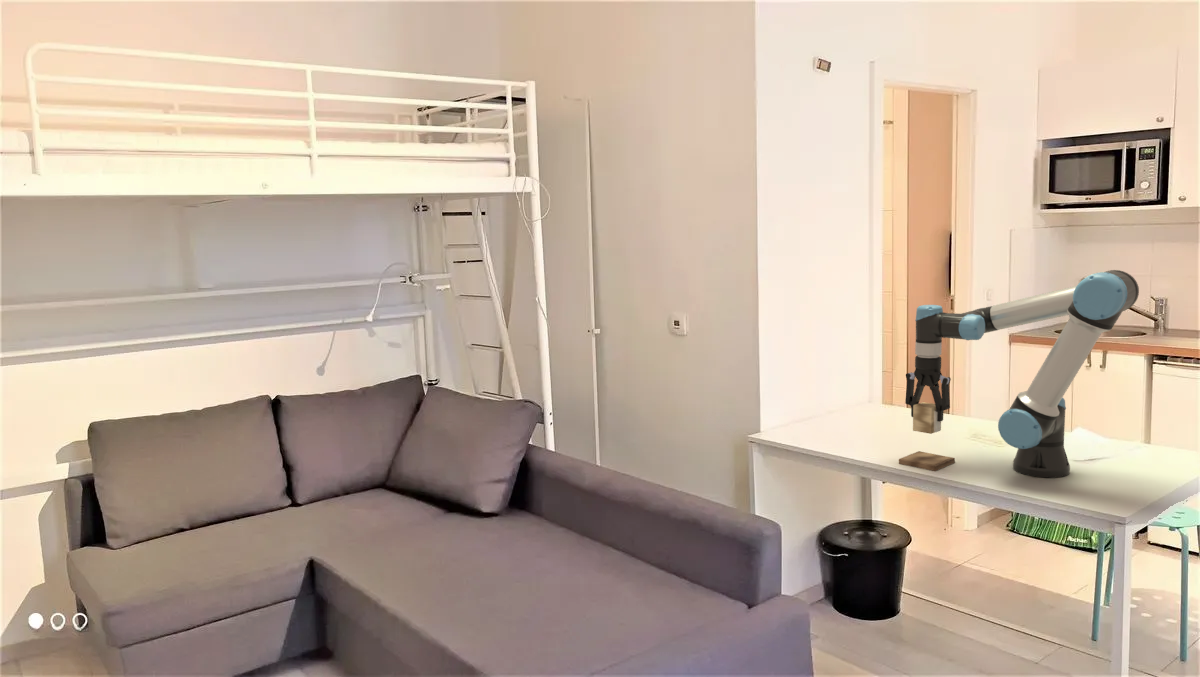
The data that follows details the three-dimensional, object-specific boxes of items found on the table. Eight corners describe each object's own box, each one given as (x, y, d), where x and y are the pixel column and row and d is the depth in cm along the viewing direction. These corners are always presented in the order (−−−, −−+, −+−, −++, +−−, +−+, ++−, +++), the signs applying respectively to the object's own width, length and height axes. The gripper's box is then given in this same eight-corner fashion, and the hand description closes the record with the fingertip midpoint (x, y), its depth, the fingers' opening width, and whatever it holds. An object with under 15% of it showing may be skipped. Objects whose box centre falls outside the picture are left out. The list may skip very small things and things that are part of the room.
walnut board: (954, 462, 273) (954, 457, 273) (935, 471, 265) (935, 466, 265) (918, 455, 282) (918, 450, 282) (898, 463, 274) (898, 458, 274)
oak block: (940, 430, 272) (941, 404, 271) (931, 433, 268) (931, 407, 267) (922, 427, 276) (923, 401, 275) (912, 430, 273) (913, 405, 271)
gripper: (964, 357, 264) (962, 432, 268) (906, 351, 278) (905, 422, 282) (951, 360, 259) (950, 437, 263) (893, 354, 274) (892, 426, 277)
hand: (926, 429), depth 272 cm, fingers closed on oak block, 6 cm apart
